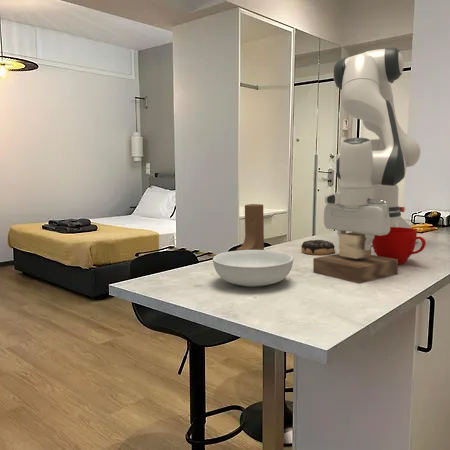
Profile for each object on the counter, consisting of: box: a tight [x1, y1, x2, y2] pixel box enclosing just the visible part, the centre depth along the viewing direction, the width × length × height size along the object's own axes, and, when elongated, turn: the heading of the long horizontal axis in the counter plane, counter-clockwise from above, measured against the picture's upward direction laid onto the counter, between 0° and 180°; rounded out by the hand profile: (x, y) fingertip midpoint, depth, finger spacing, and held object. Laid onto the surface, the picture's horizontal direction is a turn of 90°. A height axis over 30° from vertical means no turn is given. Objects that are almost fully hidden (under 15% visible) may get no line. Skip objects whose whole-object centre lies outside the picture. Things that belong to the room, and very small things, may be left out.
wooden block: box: [236, 203, 265, 251], centre depth 144 cm, size 9×4×18 cm, turn 138°
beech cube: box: [338, 232, 372, 259], centre depth 124 cm, size 6×6×6 cm
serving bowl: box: [212, 249, 294, 288], centre depth 117 cm, size 21×21×7 cm
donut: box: [301, 239, 335, 256], centre depth 156 cm, size 11×12×4 cm
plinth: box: [312, 253, 399, 284], centre depth 125 cm, size 16×16×4 cm
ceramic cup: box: [372, 227, 427, 265], centre depth 136 cm, size 13×17×10 cm
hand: (355, 248), depth 124 cm, fingers closed on beech cube, 6 cm apart
